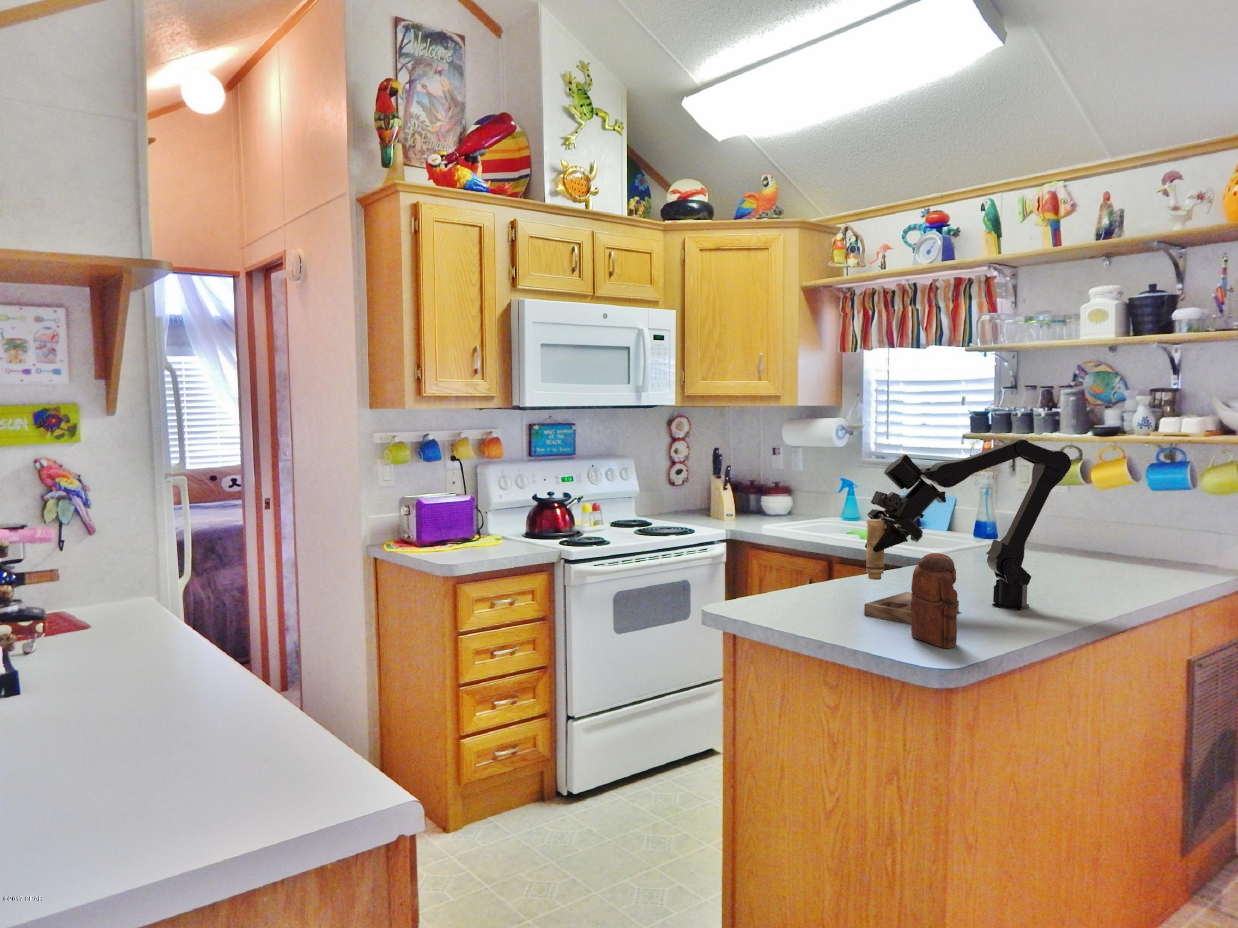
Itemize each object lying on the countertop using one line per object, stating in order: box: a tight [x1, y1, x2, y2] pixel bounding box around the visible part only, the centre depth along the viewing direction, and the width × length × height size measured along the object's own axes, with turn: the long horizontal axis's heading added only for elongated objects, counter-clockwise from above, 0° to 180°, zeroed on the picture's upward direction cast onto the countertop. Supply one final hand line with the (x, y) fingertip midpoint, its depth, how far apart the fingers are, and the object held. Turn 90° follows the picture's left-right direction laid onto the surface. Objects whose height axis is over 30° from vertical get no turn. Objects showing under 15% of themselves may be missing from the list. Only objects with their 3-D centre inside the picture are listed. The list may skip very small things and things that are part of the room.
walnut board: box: [863, 591, 960, 625], centre depth 200 cm, size 13×20×2 cm, turn 134°
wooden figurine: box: [910, 552, 958, 649], centre depth 174 cm, size 12×6×18 cm, turn 21°
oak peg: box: [865, 518, 885, 581], centre depth 207 cm, size 4×4×14 cm
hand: (870, 549), depth 206 cm, fingers closed on oak peg, 4 cm apart
